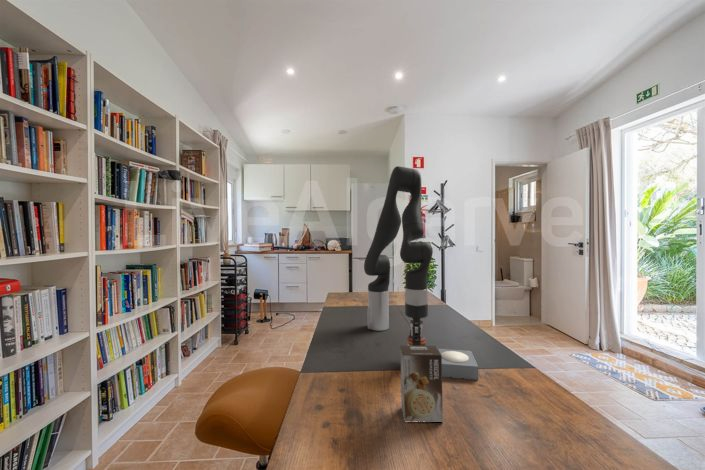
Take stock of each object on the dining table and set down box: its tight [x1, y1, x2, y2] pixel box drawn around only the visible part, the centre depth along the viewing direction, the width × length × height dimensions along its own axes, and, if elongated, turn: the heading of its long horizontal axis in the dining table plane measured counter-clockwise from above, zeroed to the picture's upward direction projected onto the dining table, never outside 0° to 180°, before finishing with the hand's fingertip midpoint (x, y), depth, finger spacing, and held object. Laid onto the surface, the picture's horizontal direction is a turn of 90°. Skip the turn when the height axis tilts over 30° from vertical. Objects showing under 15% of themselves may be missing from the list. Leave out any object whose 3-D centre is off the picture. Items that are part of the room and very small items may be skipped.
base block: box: [437, 348, 479, 381], centre depth 99 cm, size 12×12×4 cm
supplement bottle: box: [406, 329, 426, 346], centre depth 103 cm, size 6×6×11 cm
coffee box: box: [399, 344, 444, 423], centre depth 75 cm, size 9×6×16 cm
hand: (416, 351), depth 103 cm, fingers open, 6 cm apart
